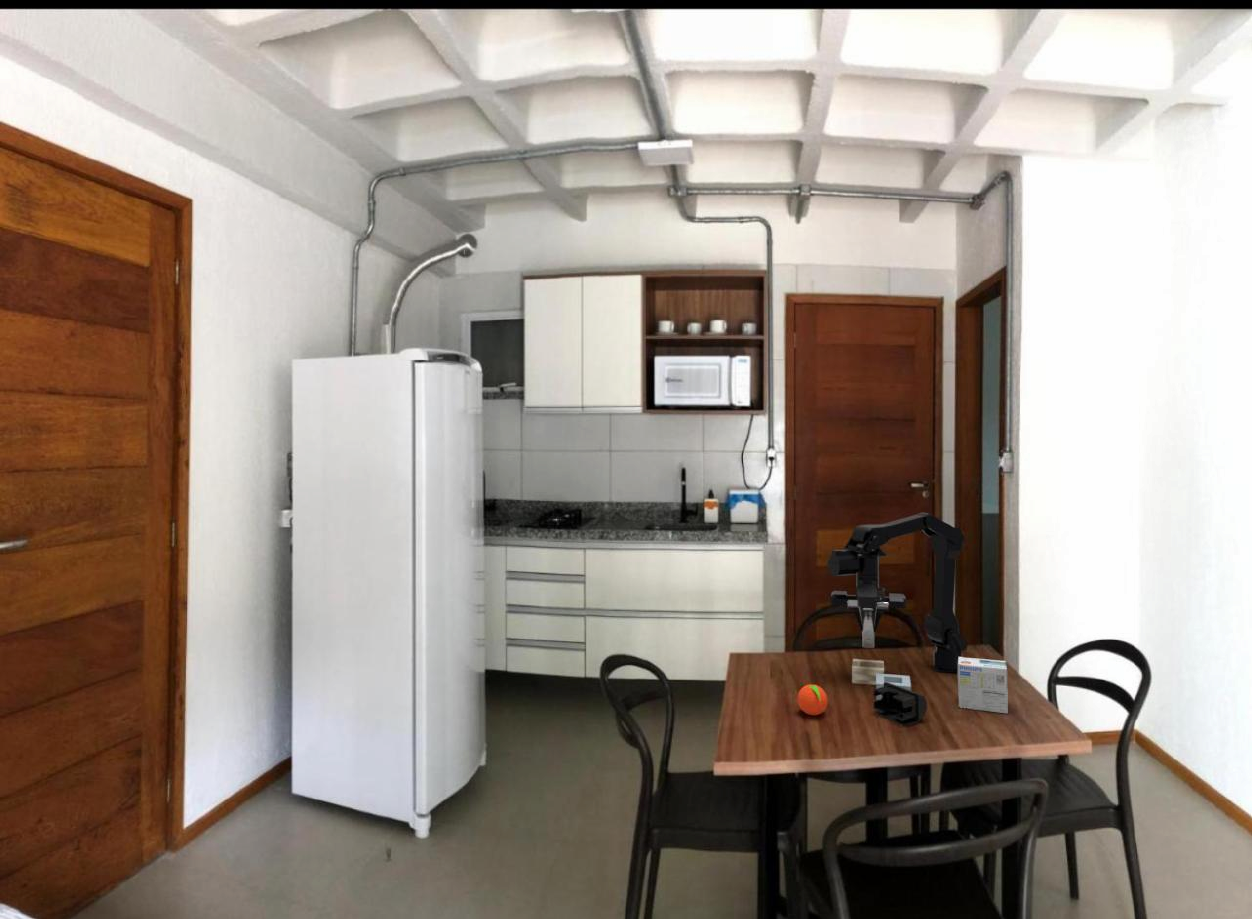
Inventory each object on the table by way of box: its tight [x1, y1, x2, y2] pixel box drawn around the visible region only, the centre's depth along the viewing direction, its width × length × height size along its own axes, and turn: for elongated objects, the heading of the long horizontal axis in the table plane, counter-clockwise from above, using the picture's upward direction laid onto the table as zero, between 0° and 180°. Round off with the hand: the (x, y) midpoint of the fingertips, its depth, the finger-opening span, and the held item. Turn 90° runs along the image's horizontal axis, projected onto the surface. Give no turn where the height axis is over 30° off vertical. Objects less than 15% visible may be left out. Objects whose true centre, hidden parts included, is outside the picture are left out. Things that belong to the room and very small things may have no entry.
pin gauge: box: [861, 607, 875, 649], centre depth 193 cm, size 3×3×10 cm
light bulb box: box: [957, 656, 1009, 714], centre depth 173 cm, size 11×7×11 cm, turn 65°
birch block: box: [851, 658, 885, 686], centre depth 194 cm, size 8×8×4 cm
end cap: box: [872, 682, 928, 727], centre depth 168 cm, size 10×7×7 cm
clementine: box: [797, 684, 829, 716], centre depth 170 cm, size 8×7×7 cm
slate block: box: [875, 673, 912, 701], centre depth 181 cm, size 8×8×4 cm
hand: (868, 631), depth 193 cm, fingers closed on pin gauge, 3 cm apart
